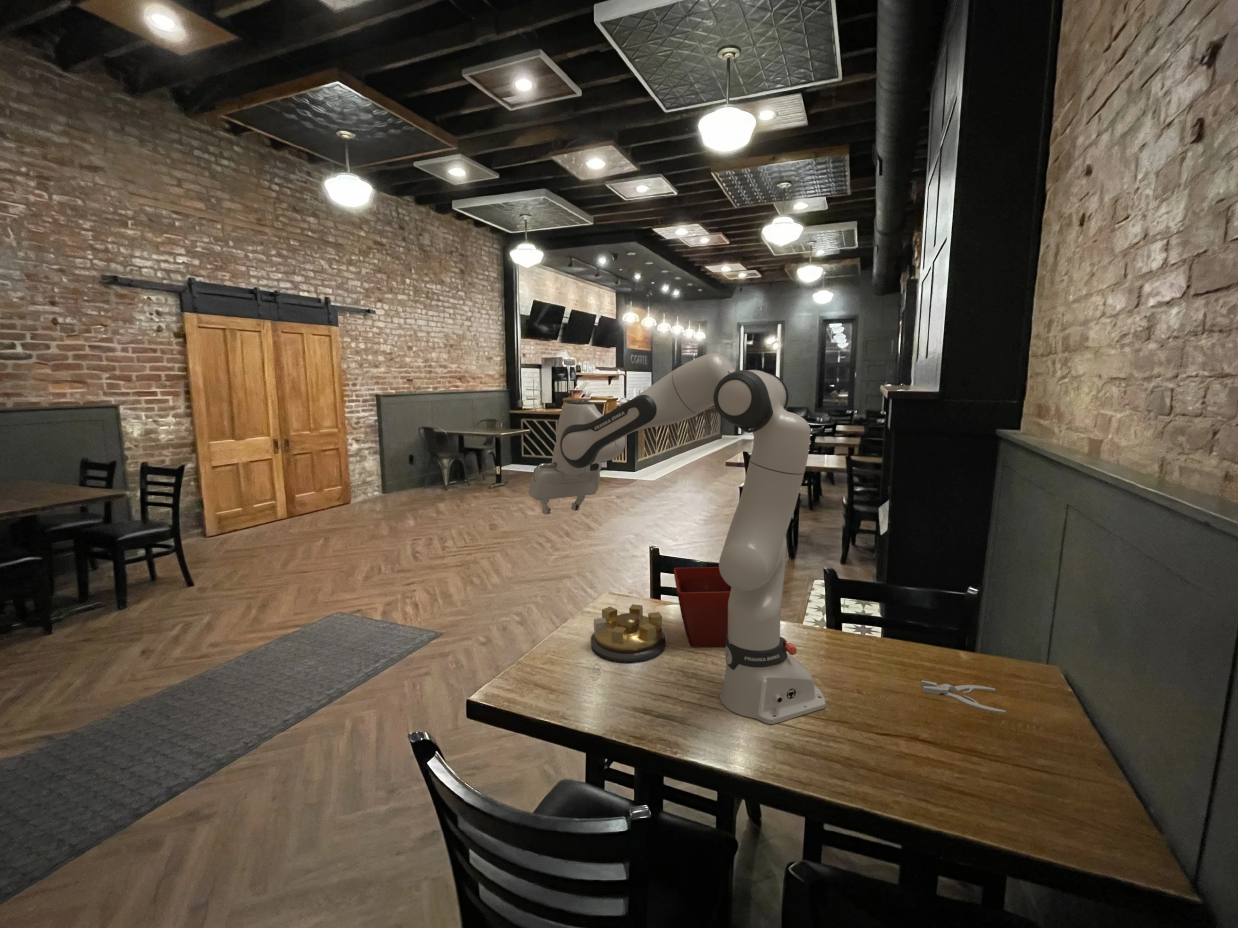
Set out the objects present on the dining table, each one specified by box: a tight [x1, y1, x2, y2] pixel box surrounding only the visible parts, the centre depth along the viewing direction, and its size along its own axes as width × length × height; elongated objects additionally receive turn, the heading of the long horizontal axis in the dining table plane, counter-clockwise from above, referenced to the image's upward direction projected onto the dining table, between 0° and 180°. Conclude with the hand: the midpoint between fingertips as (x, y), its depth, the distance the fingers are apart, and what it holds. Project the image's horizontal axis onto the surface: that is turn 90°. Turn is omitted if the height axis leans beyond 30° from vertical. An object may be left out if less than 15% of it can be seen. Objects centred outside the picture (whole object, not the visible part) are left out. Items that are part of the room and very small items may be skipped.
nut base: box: [590, 631, 667, 664], centre depth 151 cm, size 20×20×2 cm
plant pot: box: [673, 566, 731, 648], centre depth 153 cm, size 19×19×17 cm
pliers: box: [920, 679, 1007, 714], centre depth 124 cm, size 10×2×15 cm
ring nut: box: [593, 603, 663, 653], centre depth 150 cm, size 18×18×6 cm
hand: (560, 511), depth 148 cm, fingers open, 8 cm apart
